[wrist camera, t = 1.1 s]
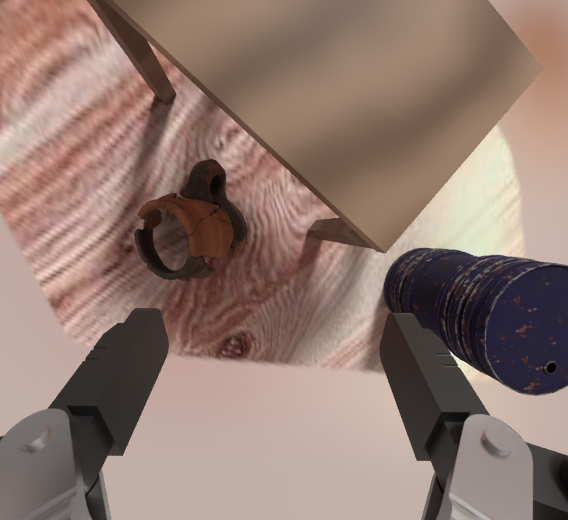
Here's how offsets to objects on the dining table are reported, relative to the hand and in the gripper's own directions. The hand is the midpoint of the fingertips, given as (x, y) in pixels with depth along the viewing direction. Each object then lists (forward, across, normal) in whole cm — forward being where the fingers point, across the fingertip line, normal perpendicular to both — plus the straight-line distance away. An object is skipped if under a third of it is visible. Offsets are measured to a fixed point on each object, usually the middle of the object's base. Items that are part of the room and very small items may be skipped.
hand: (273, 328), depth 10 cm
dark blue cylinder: (+21, -17, +13) cm, 30 cm away
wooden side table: (+26, 0, -5) cm, 27 cm away
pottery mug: (+21, +8, +5) cm, 24 cm away
